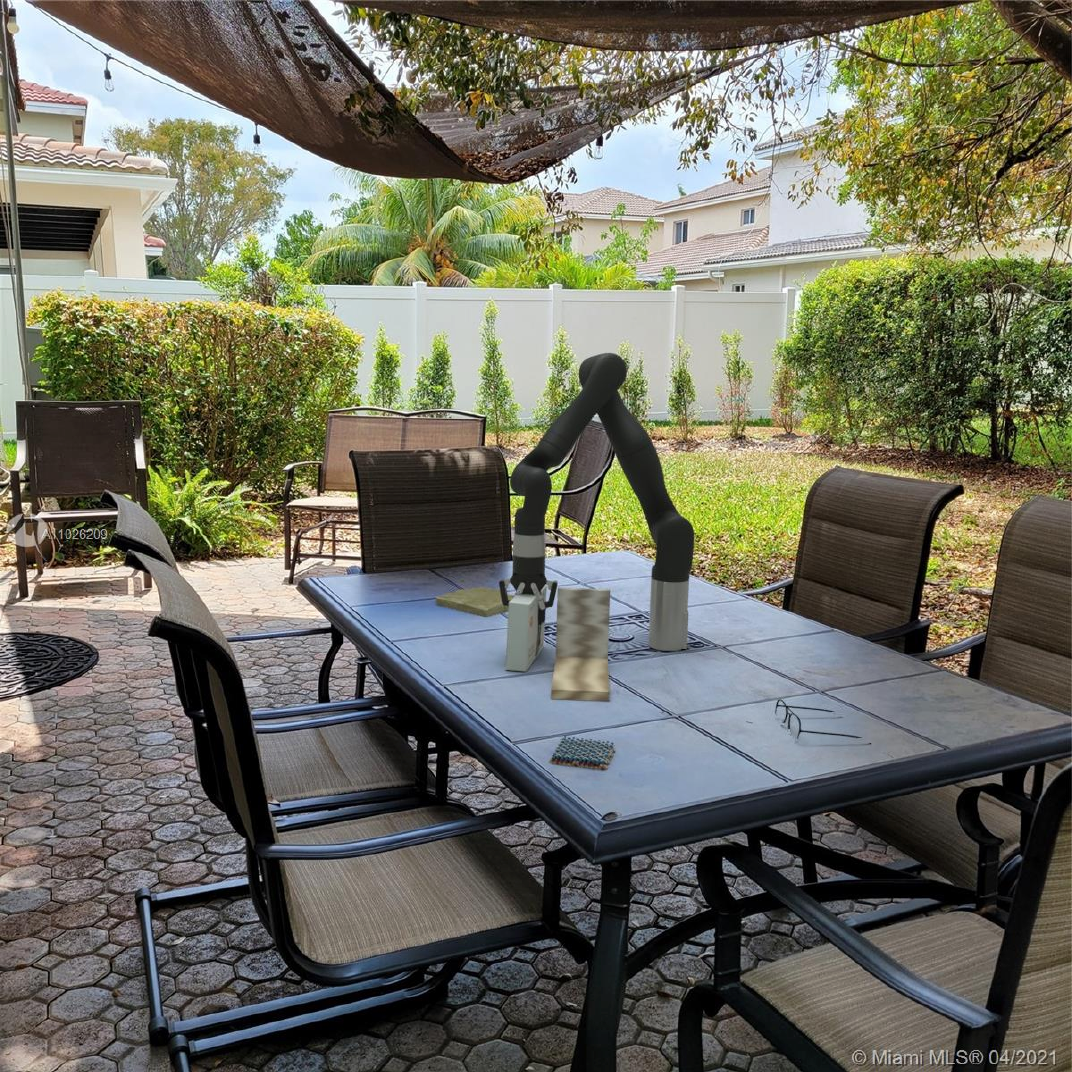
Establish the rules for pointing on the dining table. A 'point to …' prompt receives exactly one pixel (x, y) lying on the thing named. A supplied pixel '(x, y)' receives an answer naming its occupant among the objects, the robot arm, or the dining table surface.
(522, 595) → the skincare box
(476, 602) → the decorative tile
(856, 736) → the glasses
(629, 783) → the dining table surface
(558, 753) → the woven mat
